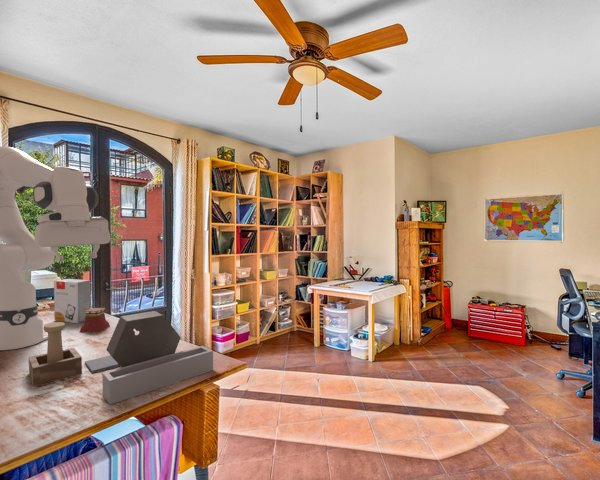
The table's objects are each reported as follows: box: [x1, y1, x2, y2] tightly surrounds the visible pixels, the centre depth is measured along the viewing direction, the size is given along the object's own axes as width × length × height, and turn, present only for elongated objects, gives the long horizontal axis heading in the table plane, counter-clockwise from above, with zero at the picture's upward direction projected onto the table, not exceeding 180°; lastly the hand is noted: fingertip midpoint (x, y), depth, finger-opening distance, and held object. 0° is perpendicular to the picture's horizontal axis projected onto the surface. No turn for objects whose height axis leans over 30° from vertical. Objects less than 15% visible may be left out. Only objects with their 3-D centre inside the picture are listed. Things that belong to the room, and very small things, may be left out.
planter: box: [106, 310, 181, 368], centre depth 99 cm, size 17×8×21 cm
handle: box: [43, 321, 66, 363], centre depth 98 cm, size 5×6×15 cm
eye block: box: [28, 347, 83, 387], centre depth 98 cm, size 12×12×5 cm
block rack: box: [101, 345, 214, 405], centre depth 92 cm, size 7×29×6 cm, turn 135°
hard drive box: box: [53, 278, 92, 324], centre depth 159 cm, size 16×8×20 cm, turn 73°
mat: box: [84, 354, 121, 374], centre depth 105 cm, size 10×10×1 cm
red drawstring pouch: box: [79, 307, 111, 333], centre depth 144 cm, size 9×9×9 cm
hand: (77, 259), depth 103 cm, fingers open, 8 cm apart
